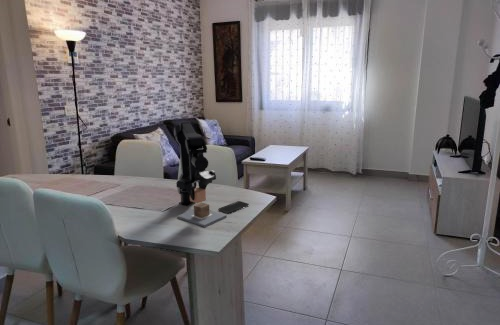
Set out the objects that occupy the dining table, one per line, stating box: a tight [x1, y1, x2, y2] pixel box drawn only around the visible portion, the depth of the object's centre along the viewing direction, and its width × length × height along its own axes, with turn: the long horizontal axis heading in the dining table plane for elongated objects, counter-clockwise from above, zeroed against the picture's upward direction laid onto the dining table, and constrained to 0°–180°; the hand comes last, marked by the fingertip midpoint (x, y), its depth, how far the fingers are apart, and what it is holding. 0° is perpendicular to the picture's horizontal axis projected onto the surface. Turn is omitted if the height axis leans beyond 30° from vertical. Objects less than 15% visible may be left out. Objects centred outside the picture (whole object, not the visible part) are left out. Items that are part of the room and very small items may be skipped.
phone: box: [218, 200, 250, 215], centre depth 174 cm, size 8×1×15 cm
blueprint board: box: [177, 208, 227, 228], centre depth 162 cm, size 18×14×1 cm
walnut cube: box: [193, 201, 210, 218], centre depth 162 cm, size 5×5×5 cm
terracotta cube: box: [190, 186, 207, 204], centre depth 156 cm, size 5×5×5 cm
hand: (197, 198), depth 157 cm, fingers closed on terracotta cube, 5 cm apart
